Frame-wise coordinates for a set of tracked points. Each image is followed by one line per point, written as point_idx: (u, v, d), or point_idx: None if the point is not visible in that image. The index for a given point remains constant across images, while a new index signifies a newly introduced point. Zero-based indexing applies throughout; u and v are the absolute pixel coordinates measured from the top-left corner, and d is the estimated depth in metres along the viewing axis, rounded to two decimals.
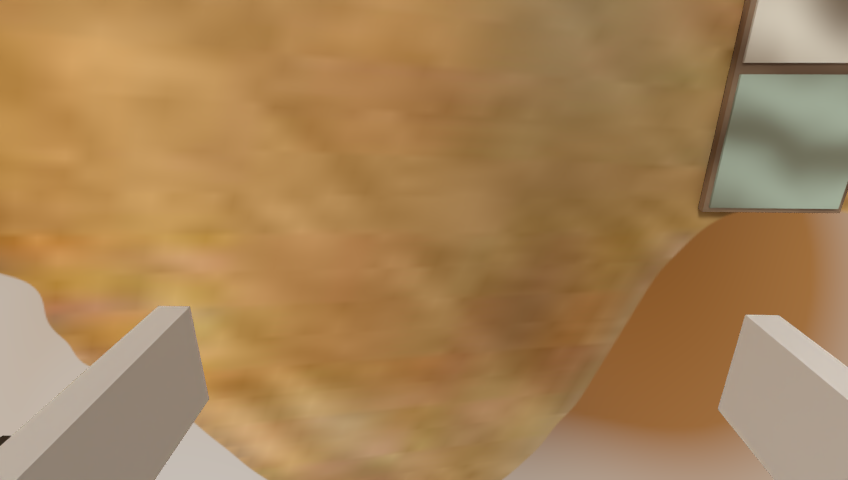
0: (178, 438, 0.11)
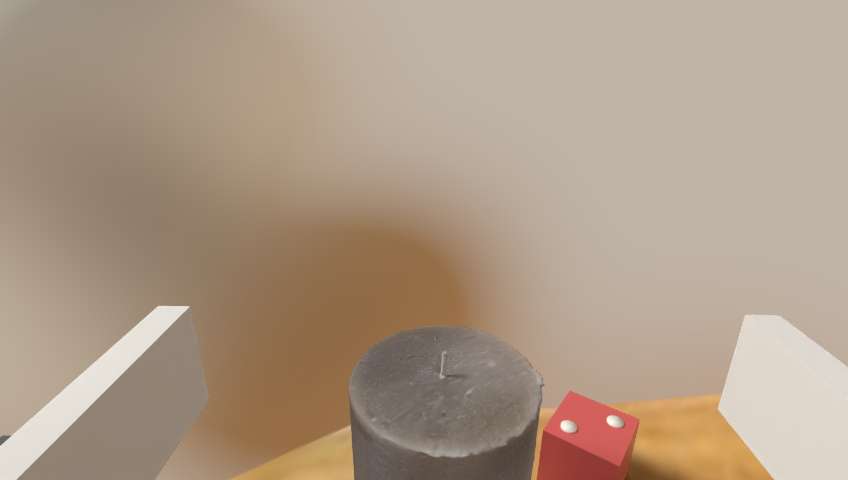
0: (179, 437, 0.11)
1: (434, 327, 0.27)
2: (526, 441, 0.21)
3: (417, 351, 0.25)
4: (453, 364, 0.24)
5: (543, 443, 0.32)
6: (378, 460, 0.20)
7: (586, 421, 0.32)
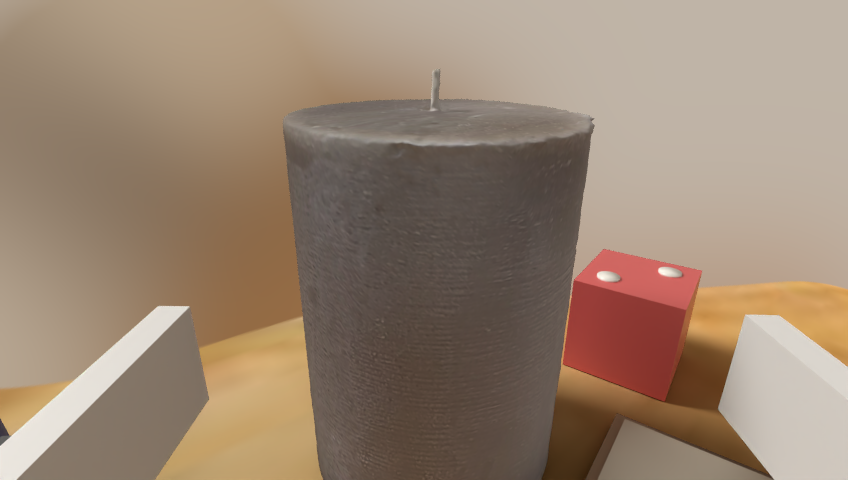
0: (178, 437, 0.11)
1: None
2: (573, 168, 0.12)
3: (396, 104, 0.17)
4: (450, 107, 0.16)
5: (574, 300, 0.23)
6: (323, 195, 0.12)
7: (631, 272, 0.24)
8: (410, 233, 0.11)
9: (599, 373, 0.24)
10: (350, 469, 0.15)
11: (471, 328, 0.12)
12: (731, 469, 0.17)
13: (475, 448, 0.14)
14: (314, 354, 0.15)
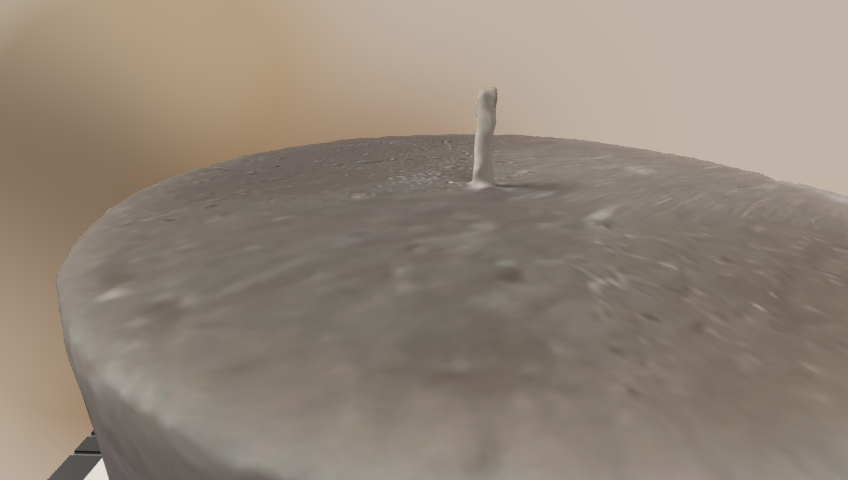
0: None
1: (443, 135, 0.10)
2: None
3: (392, 155, 0.08)
4: (511, 169, 0.07)
5: None
6: None
7: None
8: None
9: None
10: None
11: None
12: None
13: None
14: None
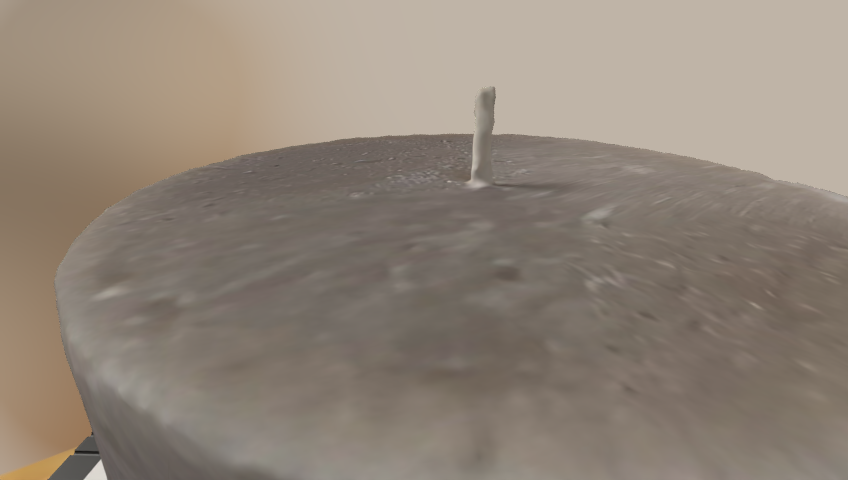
0: None
1: (442, 135, 0.10)
2: None
3: (391, 155, 0.08)
4: (510, 168, 0.07)
5: None
6: None
7: None
8: None
9: None
10: None
11: None
12: None
13: None
14: None
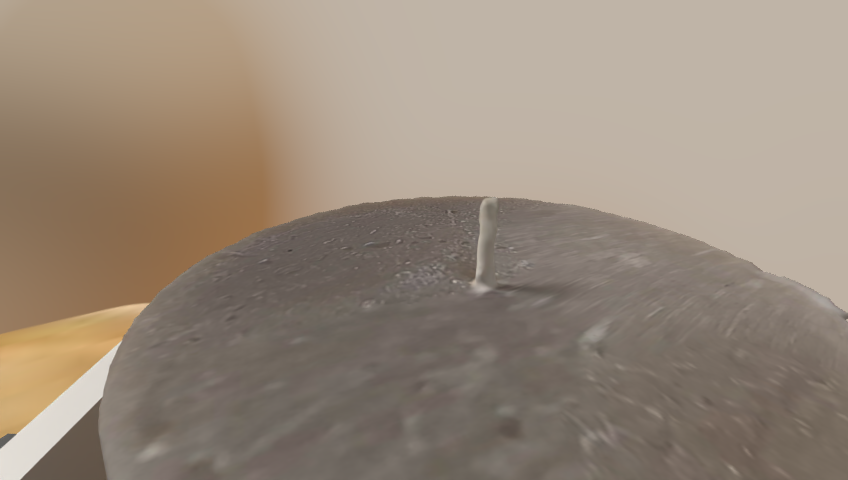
0: None
1: (447, 198, 0.11)
2: None
3: (399, 235, 0.08)
4: (512, 259, 0.07)
5: None
6: None
7: None
8: None
9: None
10: None
11: None
12: None
13: None
14: None
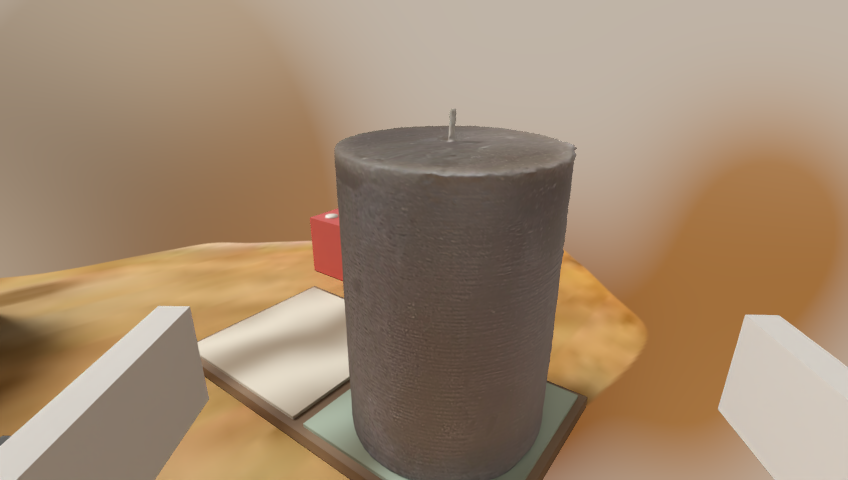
0: (179, 437, 0.11)
1: (439, 126, 0.23)
2: (558, 189, 0.16)
3: (419, 133, 0.21)
4: (463, 137, 0.20)
5: (312, 229, 0.40)
6: (370, 209, 0.16)
7: None
8: (435, 238, 0.15)
9: (329, 273, 0.41)
10: (383, 424, 0.19)
11: (480, 310, 0.16)
12: None
13: (483, 405, 0.18)
14: (355, 332, 0.19)
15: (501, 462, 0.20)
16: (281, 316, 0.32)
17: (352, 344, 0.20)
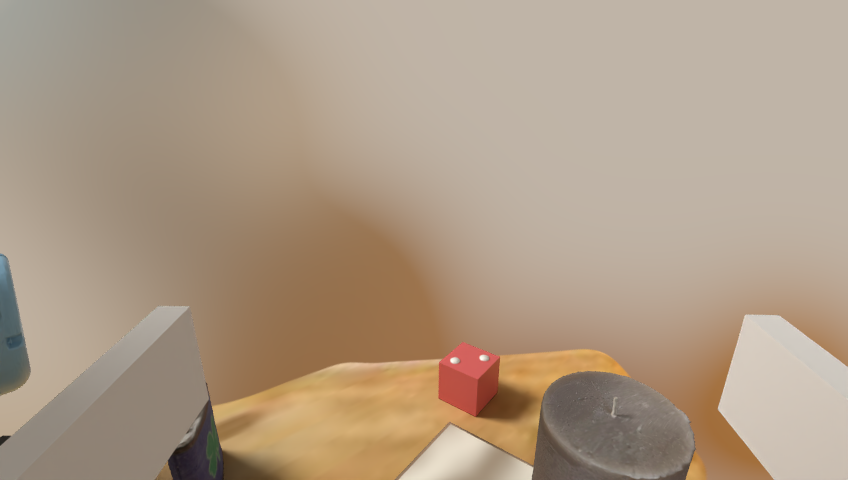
0: (178, 437, 0.11)
1: (586, 373, 0.35)
2: (688, 466, 0.28)
3: (584, 394, 0.33)
4: (617, 405, 0.32)
5: (440, 370, 0.52)
6: None
7: (467, 358, 0.53)
8: None
9: (452, 403, 0.53)
10: None
11: None
12: (481, 443, 0.46)
13: None
14: None
15: None
16: (439, 458, 0.45)
17: None
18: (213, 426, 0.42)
